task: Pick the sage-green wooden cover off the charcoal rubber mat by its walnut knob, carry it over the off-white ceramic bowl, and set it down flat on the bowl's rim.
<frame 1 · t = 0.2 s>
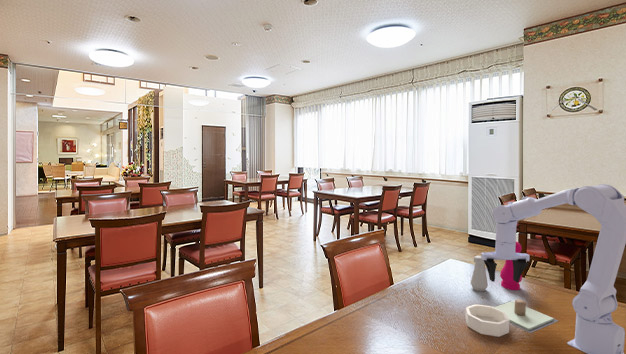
hand: (503, 280, 108), 10 cm above the table, tool pointing down, fingers open, 7 cm apart
salt shaker: (478, 290, 124), on the table
bowl: (486, 326, 98), on the table
mat: (519, 316, 104), on the table
cover: (519, 315, 104), resting on mat
pepper mill: (510, 287, 126), on the table
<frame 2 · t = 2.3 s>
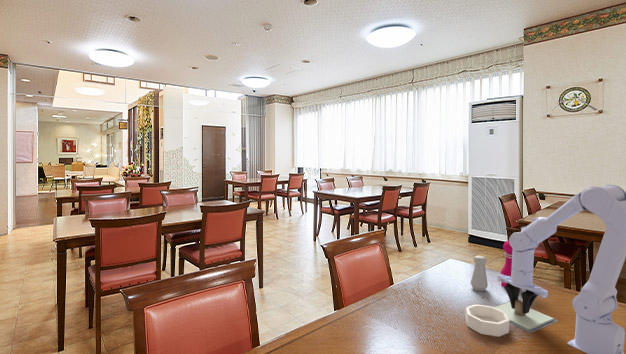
hand: (520, 310, 104), 2 cm above the table, tool pointing down, fingers closed on cover, 3 cm apart
cover: (519, 315, 104), resting on mat, touching gripper
everything else where it was.
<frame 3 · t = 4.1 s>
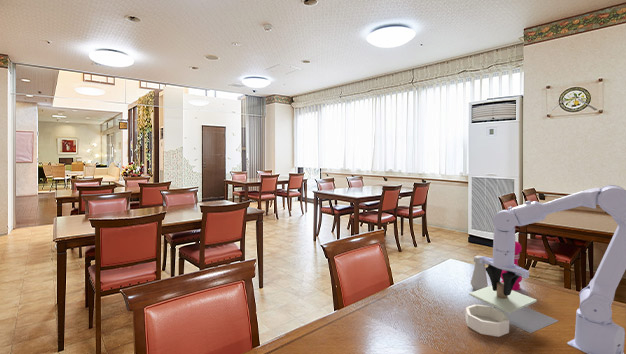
hand: (501, 292, 100), 9 cm above the table, tool pointing down, fingers closed on cover, 3 cm apart
cover: (502, 298, 100), point 8 cm above the table, touching gripper
everything else where it was.
when the fingers open (7 cm above the table, at t = 5.8 s): cover stays where it is, resting on bowl.
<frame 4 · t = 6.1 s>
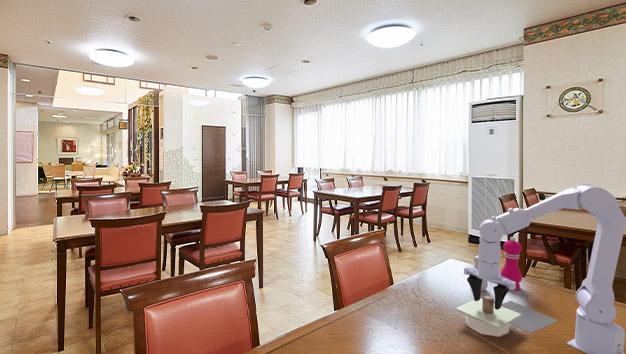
hand: (487, 304, 98), 7 cm above the table, tool pointing down, fingers open, 6 cm apart
cover: (487, 313, 98), point 4 cm above the table, touching bowl
everything else where it was.
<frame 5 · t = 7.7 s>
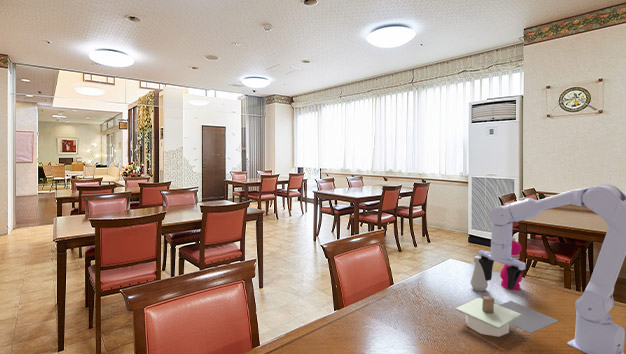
hand: (499, 284, 105), 10 cm above the table, tool pointing down, fingers open, 7 cm apart
nothing on the table moved.
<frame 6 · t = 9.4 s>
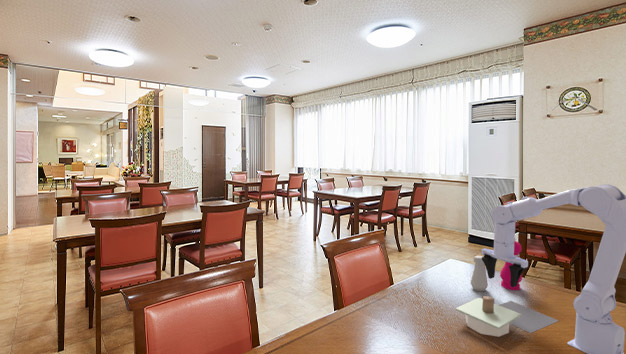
hand: (502, 281, 107), 10 cm above the table, tool pointing down, fingers open, 7 cm apart
nothing on the table moved.
at the end: cover 0.6 cm off-centre on the bowl, point 4.0 cm above the bowl's base; cover tilted 0°; the gripper is holding nothing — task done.
